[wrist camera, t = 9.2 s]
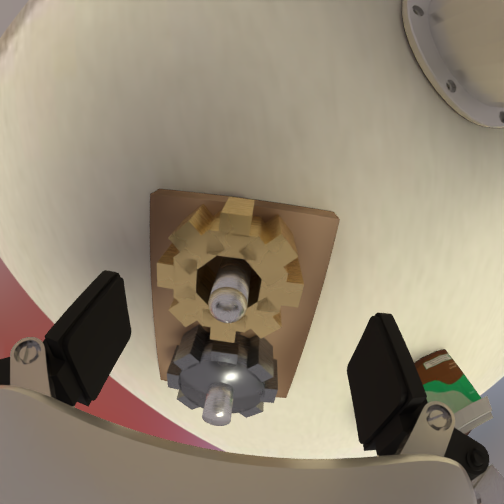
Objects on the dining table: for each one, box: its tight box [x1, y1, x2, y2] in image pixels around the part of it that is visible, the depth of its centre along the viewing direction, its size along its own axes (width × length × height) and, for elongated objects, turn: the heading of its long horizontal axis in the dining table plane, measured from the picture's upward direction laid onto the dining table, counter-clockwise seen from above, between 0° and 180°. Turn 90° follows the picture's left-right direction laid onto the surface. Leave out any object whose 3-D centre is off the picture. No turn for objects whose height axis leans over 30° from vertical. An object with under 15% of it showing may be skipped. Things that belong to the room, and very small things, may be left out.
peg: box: [208, 256, 251, 323], centre depth 15 cm, size 2×2×5 cm
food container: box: [414, 349, 493, 435], centre depth 19 cm, size 12×6×10 cm, turn 0°
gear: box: [167, 325, 278, 426], centre depth 18 cm, size 8×8×6 cm
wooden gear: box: [157, 197, 304, 343], centre depth 15 cm, size 7×7×3 cm
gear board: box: [150, 189, 340, 398], centre depth 20 cm, size 11×16×2 cm
